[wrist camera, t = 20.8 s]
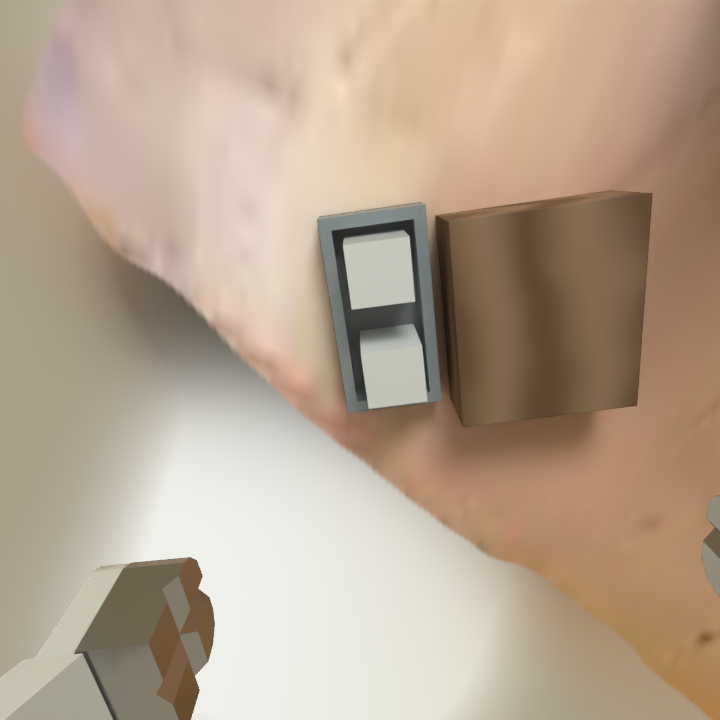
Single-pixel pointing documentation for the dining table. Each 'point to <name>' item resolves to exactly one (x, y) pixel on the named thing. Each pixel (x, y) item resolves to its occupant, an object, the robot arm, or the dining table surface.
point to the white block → (379, 268)
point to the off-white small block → (393, 366)
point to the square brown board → (544, 305)
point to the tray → (381, 316)
